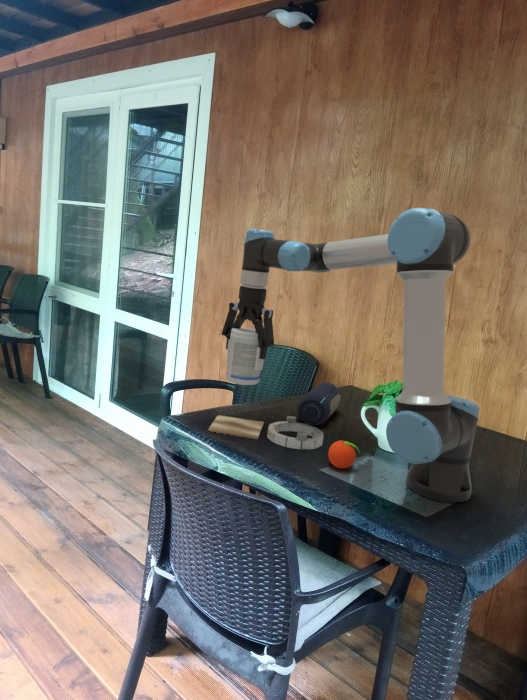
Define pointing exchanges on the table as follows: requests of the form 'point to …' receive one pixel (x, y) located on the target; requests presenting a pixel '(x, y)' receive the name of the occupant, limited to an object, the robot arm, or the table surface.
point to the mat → (236, 427)
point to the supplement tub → (243, 357)
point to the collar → (301, 438)
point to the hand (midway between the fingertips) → (244, 365)
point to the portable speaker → (319, 404)
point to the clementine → (342, 454)
